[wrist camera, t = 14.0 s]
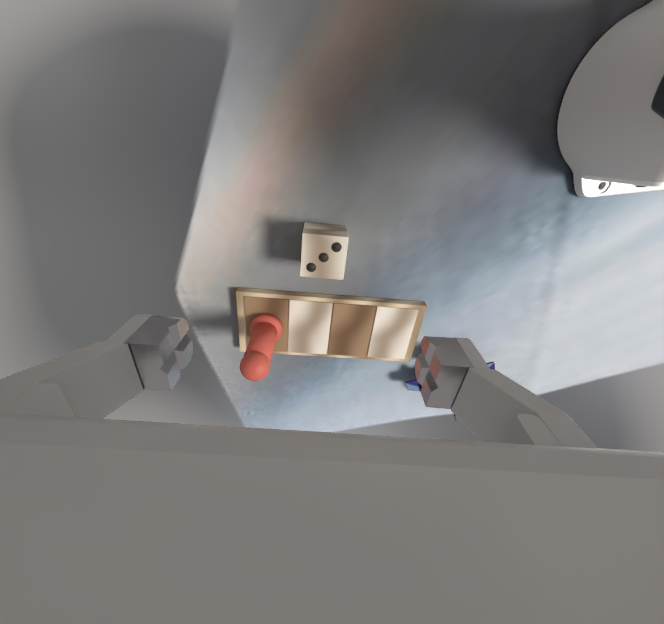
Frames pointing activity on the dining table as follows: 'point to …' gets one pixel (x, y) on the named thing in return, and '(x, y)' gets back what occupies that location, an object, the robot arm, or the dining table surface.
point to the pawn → (260, 346)
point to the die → (324, 250)
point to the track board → (334, 324)
